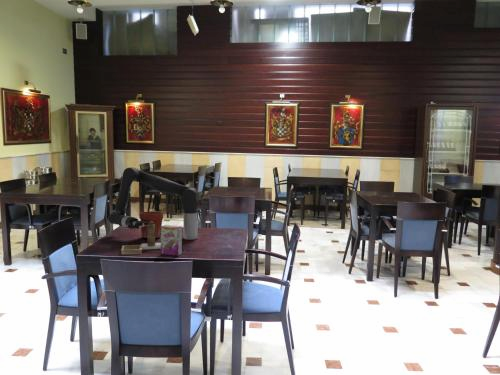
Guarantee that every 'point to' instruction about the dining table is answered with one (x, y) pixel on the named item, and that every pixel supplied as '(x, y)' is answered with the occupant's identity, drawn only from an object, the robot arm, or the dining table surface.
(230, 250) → the dining table surface
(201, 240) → the dining table surface
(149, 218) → the flower pot
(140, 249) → the collar
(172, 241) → the candy bar box
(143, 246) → the mat
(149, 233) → the pepper mill
